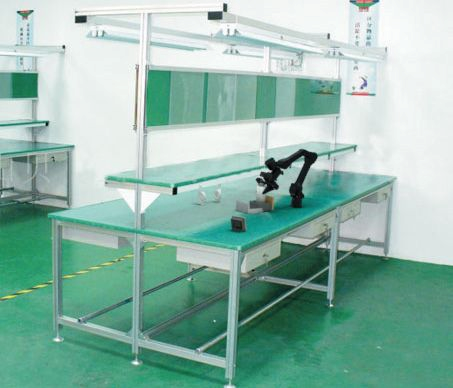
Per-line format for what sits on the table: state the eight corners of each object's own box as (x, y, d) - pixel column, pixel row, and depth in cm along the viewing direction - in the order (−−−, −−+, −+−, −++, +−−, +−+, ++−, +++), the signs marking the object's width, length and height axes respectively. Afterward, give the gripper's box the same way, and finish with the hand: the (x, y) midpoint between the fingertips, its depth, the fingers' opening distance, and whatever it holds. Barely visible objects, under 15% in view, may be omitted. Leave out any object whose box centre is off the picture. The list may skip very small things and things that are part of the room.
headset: (216, 201, 447) (217, 175, 443) (223, 202, 442) (224, 176, 439) (195, 204, 432) (196, 177, 429) (202, 206, 427) (203, 179, 424)
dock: (252, 208, 427) (252, 198, 426) (264, 212, 417) (265, 202, 415) (235, 209, 419) (236, 200, 418) (247, 213, 409) (248, 203, 408)
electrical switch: (246, 230, 362) (246, 216, 360) (242, 233, 358) (242, 218, 356) (233, 228, 366) (233, 214, 364) (229, 230, 363) (229, 216, 360)
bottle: (265, 202, 425) (266, 182, 422) (265, 204, 419) (266, 184, 416) (256, 202, 425) (257, 182, 423) (255, 203, 419) (256, 183, 417)
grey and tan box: (261, 206, 431) (262, 194, 429) (273, 210, 421) (274, 197, 420) (248, 208, 424) (248, 195, 423) (259, 211, 415) (260, 198, 413)
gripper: (258, 165, 428) (244, 182, 423) (276, 169, 413) (261, 187, 408) (267, 176, 433) (253, 193, 429) (285, 180, 418) (270, 198, 414)
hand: (259, 193), depth 420 cm, fingers closed on bottle, 6 cm apart
